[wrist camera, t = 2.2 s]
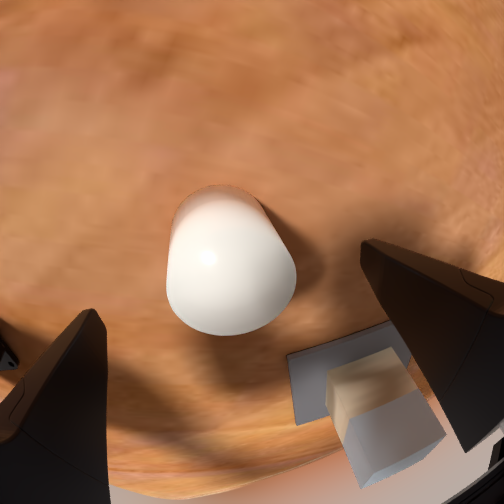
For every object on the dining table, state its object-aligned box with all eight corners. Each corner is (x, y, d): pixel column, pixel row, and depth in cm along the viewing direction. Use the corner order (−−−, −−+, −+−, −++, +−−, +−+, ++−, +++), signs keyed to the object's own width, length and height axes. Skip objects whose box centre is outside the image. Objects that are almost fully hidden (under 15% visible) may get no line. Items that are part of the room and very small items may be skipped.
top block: (342, 445, 18) (360, 489, 14) (349, 418, 15) (373, 473, 12) (401, 419, 18) (422, 459, 15) (418, 388, 16) (446, 434, 12)
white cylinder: (186, 280, 13) (189, 346, 10) (159, 199, 11) (147, 249, 8) (272, 259, 14) (300, 318, 10) (258, 174, 12) (289, 214, 8)
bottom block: (325, 404, 21) (342, 445, 18) (327, 370, 19) (349, 418, 15) (380, 383, 22) (401, 419, 18) (391, 346, 19) (418, 388, 16)
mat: (295, 422, 23) (296, 425, 22) (286, 355, 17) (288, 360, 17) (397, 383, 23) (399, 386, 23) (422, 306, 18) (425, 310, 18)
